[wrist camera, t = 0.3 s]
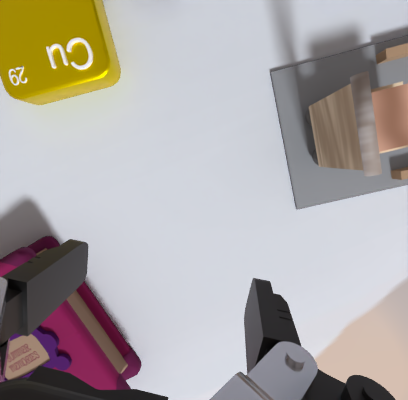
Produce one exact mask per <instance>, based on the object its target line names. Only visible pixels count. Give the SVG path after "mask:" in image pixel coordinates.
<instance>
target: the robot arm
mask: <svg viewBox="0 0 408 400" xmlns="http://www.w3.org/2000/svg"><path fill="white" fill-rule="evenodd" d="M87 261H88V244H87V243H86V242H82V241H77V240H72V239H70V240H68V241H66V242H65V243H63V244H62V245H60V246H58V247H55V248H51V249H48V250H45V251H43V252H42V253H40V254H38V255H37V256H35V258H34V257H33V258H32V259H30V260H28V261H27V262H25V263H23V264H22V265H20V266H18V267H17V268H15V269H13V270H12V271H10V272H8V273H7V274H5V275H3V276H2V277H0V400H168V397H165V396H161V395H157V394H153V393H149V392H145V391H141V390H137V389H123V390H98V389H95V388H94V387H92V386H90V385H89V384H87V383H85V382H84V381H82V380H81V379H79V378H77V377H76V376H74V375H72V374H71V373H68V372H64V371H60V370H56V369H52V368H48V367H44V366H40V365H39V366H38V367H37V368H36V370H35V371H34V372H33V373H32V374H31V375H30V377H23V378H16V379H11V380H7V381H4V379H5V373H6V366H7V359H8V353H9V346H10V337H11V336H12V335H14V334H19V335H23V336H29V335H30V334H31V333H32V332H33V331H34V330H35V329H36V328H37V327H38V326H39V325H40V324H41V323H42V322H43V321H44V320H45V319H46V318H47V317H48V316H50V315H51V314H52V313H53V312H54V311H55V310H56V309H57V308H58V307H59V306H60V305H61V304H62V303H63V302H64V301H65V300H66V299H67V298H68V297H69V296H70V295H71V294H72V293H73V292H74V291H75V290H76V289H77V288H78V287H79V286H80V285H81V284H82V283H83V281H84V280H85V277H86V274H87ZM244 326H245V343H246V359H247V375H246V376H245V375H244V374H243V373H242V372H238V373H237V374H235V375H234V376H233V377H232V378H231V379H230V380H229V381H228V382H227V383H226V384H225V385H224V386H223V387H222V388H221V389H220V390H219V391H218V392H217V393H216V394H215V395H214V396H213V397H212V398H211V399H210V400H395V399H394V397H393V396H392V395H391V394H390V393H389V392H388V391H387V390H386V389H385V388H384V387H382V386H381V385H380V384H378V383H377V382H375V381H373V380H372V379H369V378H367V377H364V376H360V375H353V376H350V377H349V378H348V379H347V382H346V384H345V383H343V382H341V381H339V380H337V379H335V378H333V377H331V376H329V375H327V374H325V373H323V372H322V371H320V370H319V369H318V368H317V364H316V362H315V360H314V358H313V357H312V355H311V354H310V353H309V352H308V351H307V350H305V349H304V348H303V347H301V343H300V340H299V337H298V334H297V331H296V328H295V325H294V322H293V319H292V316H291V314H290V310H289V307H288V304H287V302H286V301H285V300H284V299H283V298H282V296H281V295H278V294H273V291H272V287H271V283H270V281H266V280H261V279H256V278H253V280H252V283H251V288H250V292H249V296H248V300H247V304H246V308H245V315H244Z"/></svg>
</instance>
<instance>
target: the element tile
mask: <svg viewBox="0 0 408 400" xmlns="http://www.w3.org/2000/svg"><path fill="white" fill-rule="evenodd" d="M120 73H121V69H120V65H119V61H118V57H117V54H116V50H115V46H114V42H113V39H112V35H111V31H110V27H109V24H108V20H107V16H106V12H105V9H104V5H103V1H102V0H0V76H1V79H2V82H3V85H4V88H5V90H6V91H7V92H8V94H9V95H10V96H11V97H13V98H15V99H18V100H21V101H24V102H28V103H31V104H35V105H44V104H47V103H51V102H55V101H59V100H62V99H66V98H70V97H74V96H77V95H81V94H85V93H89V92H92V91H96V90H100V89H103V88H107V87H110V86H113V85H114V84H116V83H117V82H118V80H119V78H120Z"/></svg>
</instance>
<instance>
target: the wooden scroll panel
mask: <svg viewBox="0 0 408 400" xmlns="http://www.w3.org/2000/svg"><path fill="white" fill-rule="evenodd" d="M350 82H351V84H349V85H347V86H345V87H343V88H342V89H340V90H338V91H336V92H334V93H332V94H331V95H329V96H327V97H325V98H323V99H321V100H320V101H318V102H316V103H314V104H312V105H310V106H309V108H308V109H307V111H306V114H305V118H306V121H307V122H308V124H310V125H312V129H313V135H314V141H315V146H316V149H315V150H314V151H313V154H312V158H313V161H314V162H315V163H316V164H317V165H319V167H327V168H339V169H351V170H362V171H364V176H375V175H380V174H382V169H381V161H380V153H385V152H389V151H393V150H397V149H402V148H406V147H408V84H404V85H403V81H402V82H398V83H394V84H390V85H386V86H382V87H378V88H374V89H371V87H370V79H369V72H368V71H366V72H362V73H359V74H356V75H354V76H351V77H350Z"/></svg>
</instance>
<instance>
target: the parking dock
mask: <svg viewBox="0 0 408 400" xmlns="http://www.w3.org/2000/svg"><path fill="white" fill-rule="evenodd" d="M366 71H368V72H369V79H370V87H371V89H374V88H378V87H382V86H386V85H390V84H394V83H398V82H402V81H403V85H404V84H408V35H407V36H403V37H400V38H396V39H392V40H389V41H385V42H381V43H377V44H374V45H370V46H366V47H363V48H359V49H355V50H351V51H348V52H344V53H340V54H337V55H333V56H329V57H325V58H322V59H318V60H314V61H311V62H307V63H303V64H299V65H296V66H292V67H288V68H285V69H281V70H277V71H273V72H271V73H270V74H271V79H272V84H273V89H274V95H275V100H276V105H277V110H278V116H279V121H280V126H281V131H282V137H283V142H284V147H285V152H286V158H287V163H288V168H289V173H290V178H291V184H292V189H293V194H294V199H295V205H296V209H297V210H298V209H302V208H307V207H311V206H315V205H320V204H324V203H329V202H333V201H338V200H342V199H347V198H351V197H355V196H360V195H364V194H369V193H373V192H378V191H382V190H386V189H391V188H395V187H400V186H404V185H408V147H406V148H402V149H397V150H393V151H389V152H385V153H380V161H381V169H382V174H380V175H375V176H364V171H362V170H351V169H339V168H327V167H319V165H317V164H316V163H315V162H314V161H313V158H312V154H313V151H314V150H315V149H316V146H315V141H314V135H313V129H312V125H310V124H308V122H307V121H306V118H305V114H306V111H307V109H308V108H309V106H310V105H312V104H314V103H316V102H318V101H320V100H321V99H323V98H325V97H327V96H329V95H331V94H332V93H334V92H336V91H338V90H340V89H342V88H343V87H345V86H347V85H349V84H351V82H350V77H351V76H354V75H356V74H359V73H362V72H366Z"/></svg>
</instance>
